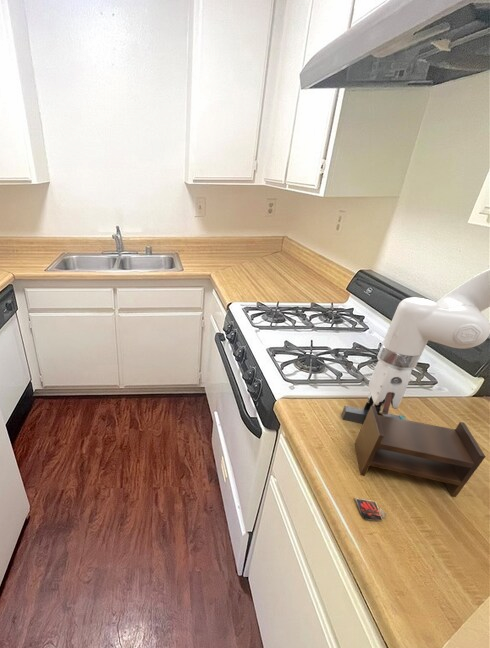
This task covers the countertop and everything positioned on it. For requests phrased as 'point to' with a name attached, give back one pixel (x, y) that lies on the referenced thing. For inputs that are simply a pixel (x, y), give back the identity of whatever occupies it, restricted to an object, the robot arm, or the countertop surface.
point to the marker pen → (360, 414)
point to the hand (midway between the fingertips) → (369, 420)
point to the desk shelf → (418, 449)
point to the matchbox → (370, 509)
